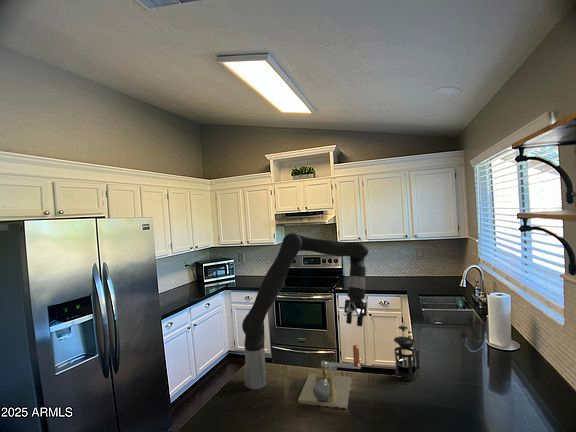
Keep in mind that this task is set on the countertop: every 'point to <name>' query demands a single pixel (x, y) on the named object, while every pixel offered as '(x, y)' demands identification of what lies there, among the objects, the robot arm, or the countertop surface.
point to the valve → (326, 389)
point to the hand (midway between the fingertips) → (354, 324)
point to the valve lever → (344, 365)
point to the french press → (406, 364)
